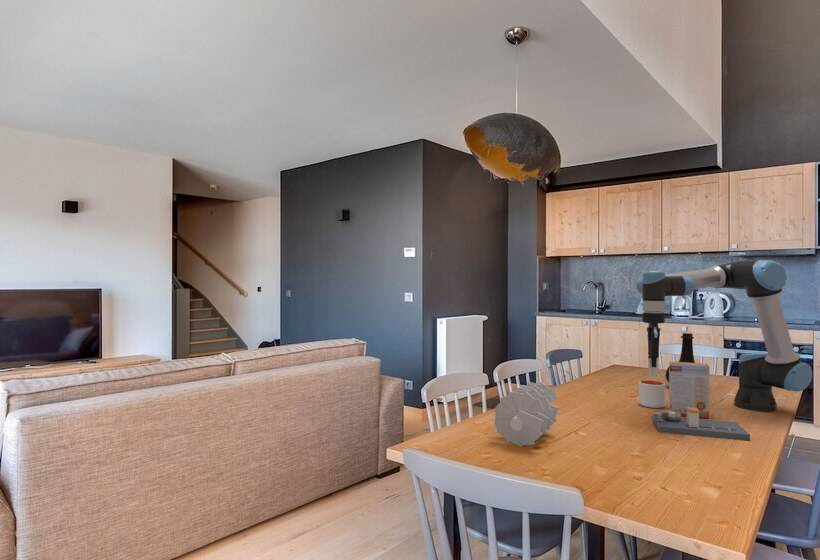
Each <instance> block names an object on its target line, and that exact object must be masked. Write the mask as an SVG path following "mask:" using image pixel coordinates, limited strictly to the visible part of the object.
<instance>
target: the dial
mask: <svg viewBox="0 0 820 560" xmlns="http://www.w3.org/2000/svg"><path fill="white" fill-rule="evenodd" d="M653 415H654V419H656V420H660V419H665V420H668V421H675V422H678V421H681V417H682V416H681V412H680V411H678V410H673V409H669V408H665V409H663V410H662V412H654V413H653Z"/></svg>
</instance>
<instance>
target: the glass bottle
mask: <svg viewBox="0 0 820 560" xmlns="http://www.w3.org/2000/svg"><path fill="white" fill-rule="evenodd" d="M680 338H681V339H682V343H681V352H680V357H679V359H678V362H687V363H696V362H695V358H694V357H695V356H694V345H693V344H694V343H693V339H695V337H694V336H693V333H691V332H690V333H689V332H683V333H682V335H681V336H680ZM665 378H666V381H667V383H668V384H669V366H668V367H667V369H666V371H665Z"/></svg>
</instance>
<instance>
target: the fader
mask: <svg viewBox="0 0 820 560" xmlns="http://www.w3.org/2000/svg"><path fill="white" fill-rule="evenodd" d="M686 418H687V425H688V426H689V427H698V428H699V419H700V417H699V410H698V409H697V408H693V407H687V416H686Z"/></svg>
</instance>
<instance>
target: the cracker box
mask: <svg viewBox="0 0 820 560" xmlns="http://www.w3.org/2000/svg"><path fill="white" fill-rule="evenodd" d="M668 364H669V365H668V367H669V383H668V400H669V401H668V409H673V410H678V411H680V412H681V417H687V407H693V408H697V409H698V410H699V419H710V365H709V364H708V363H698V362H697V363H696V362H695V363H687V362H679V361H669V362H668Z"/></svg>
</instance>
